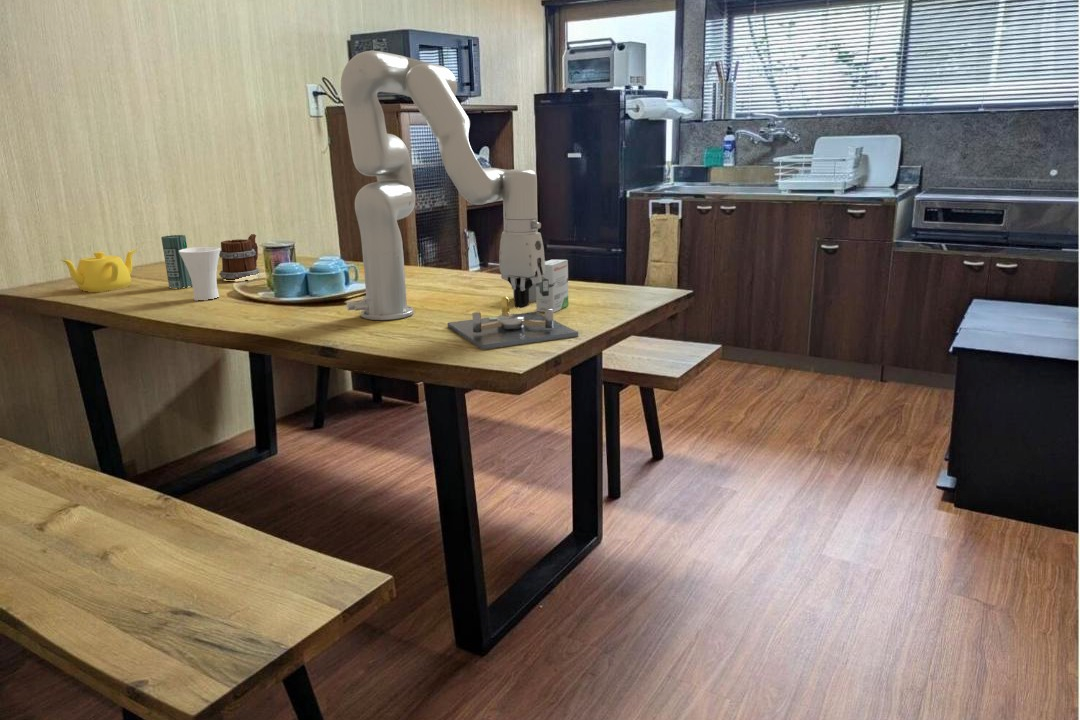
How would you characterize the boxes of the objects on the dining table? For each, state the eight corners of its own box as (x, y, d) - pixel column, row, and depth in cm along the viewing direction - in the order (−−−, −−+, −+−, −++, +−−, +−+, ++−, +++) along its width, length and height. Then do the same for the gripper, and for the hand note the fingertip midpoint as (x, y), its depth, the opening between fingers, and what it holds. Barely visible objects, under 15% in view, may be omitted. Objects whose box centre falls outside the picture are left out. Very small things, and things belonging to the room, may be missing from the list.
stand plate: (482, 349, 159) (482, 344, 159) (447, 326, 178) (447, 321, 178) (578, 336, 168) (578, 330, 167) (535, 315, 187) (535, 310, 187)
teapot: (82, 298, 219) (74, 259, 216) (56, 292, 228) (48, 255, 225) (157, 285, 236) (151, 249, 233) (130, 280, 245) (125, 245, 242)
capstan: (554, 329, 169) (553, 308, 167) (473, 334, 166) (472, 312, 165) (542, 313, 183) (541, 293, 182) (467, 317, 181) (466, 297, 179)
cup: (221, 293, 222) (215, 245, 218) (231, 299, 213) (224, 249, 210) (182, 298, 216) (174, 249, 212) (190, 304, 208) (182, 253, 204)
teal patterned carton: (196, 285, 234) (189, 235, 229) (183, 289, 228) (175, 237, 224) (179, 285, 235) (171, 234, 231) (165, 288, 229) (157, 237, 225)
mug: (209, 281, 238) (208, 231, 236) (240, 281, 252) (240, 234, 250) (241, 283, 235) (241, 232, 233) (271, 282, 248) (271, 234, 246)
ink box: (552, 304, 199) (551, 258, 196) (569, 306, 196) (569, 259, 193) (535, 311, 192) (534, 263, 188) (553, 313, 189) (552, 264, 186)
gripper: (557, 226, 173) (557, 307, 179) (504, 222, 182) (505, 299, 187) (538, 230, 168) (538, 313, 173) (483, 225, 176) (486, 305, 181)
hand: (521, 306), depth 180 cm, fingers closed
